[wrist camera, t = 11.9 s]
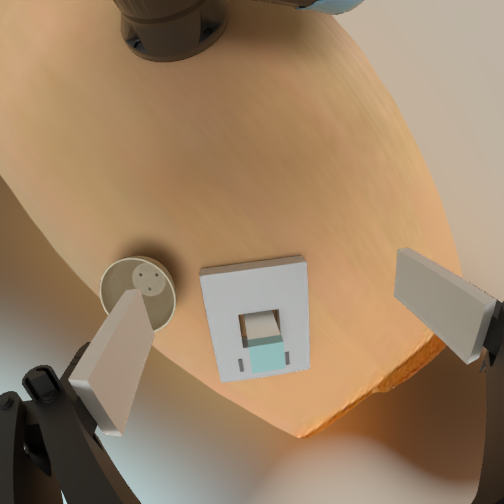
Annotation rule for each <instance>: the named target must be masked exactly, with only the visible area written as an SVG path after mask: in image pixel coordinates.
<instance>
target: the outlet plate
mask: <svg viewBox="0 0 504 504" xmlns="http://www.w3.org/2000/svg"><path fill="white" fill-rule="evenodd" d="M199 277H200V283H201V288H202V293H203V299H204V304H205V309H206V314H207V319H208V324H209V329H210V334H211V338H212V343H213V348H214V352H215V357H216V361H217V365H218V370H219V374H220V378H221V383H222V382H231V381H239V380H247V379H254V378H261V377H268V376H274V375H280V374H286V373H291V372H296V371H302V370H307V369H310V346H309V303H308V278H307V261H306V260H305V259H304V258H303V257H302V256H301V255H300V256H293V257H285V258H278V259H271V260H263V261H256V262H249V263H241V264H234V265H226V266H218V267H211V268H203V269H201V271H200V275H199ZM275 309H276V315H277V326H278V329H279V332H280V334H281V336H282V339H283V341H284V354H285V368H284V369H278V370H272V371H266V372H259V373H252V368H251V361H250V354H249V347H248V341H247V337H242V335H241V329H240V322H239V315H240V314H247V313H254V312H261V311H268V310H275Z"/></svg>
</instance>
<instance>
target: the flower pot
mask: <svg viewBox="0 0 504 504" xmlns="http://www.w3.org/2000/svg"><path fill="white" fill-rule="evenodd" d="M155 274H157V275H155ZM140 275H142V276H140ZM139 288H140V291H141V294H142V297H143V301H144V304H145V307H146V311H147V314H148V317H149V320H150V323H151V326H152V329H153V332H157V331H159V330H161V329H162V328H164V327H165V326H166V325H167V324H168V323H169V322H170V320H171V319H172V317H173V315H174V312H175V308H176V289H175V285H174V282H173V279H172V277H171V275H170V273H169V272H168V270H167V269H166V268H165V267H164V266H163V265H162V264H161V263H160V262H158V261H157V260H155V259H152V258H149V257H145V256H130V257H126V258H123V259H120V260H118V261H116V262H114V263H113V264H111V265H110V266H109V267H108V268H107V269H106V271H105V272H104V274H103V276H102V278H101V281H100V289H99V290H100V299H101V302H102V305H103V308H104V310H105V311H106V313H107V314H108V315H109V314H110V312H111V311H112V309H113V308H114V307H115V305H116V304H117V302H118V301H119V299H120V298H121V296H122V295H123V294H124V292H125V291H126V290H131V289H139ZM150 288H151V289H150Z"/></svg>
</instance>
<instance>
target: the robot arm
mask: <svg viewBox="0 0 504 504" xmlns="http://www.w3.org/2000/svg"><path fill="white" fill-rule="evenodd" d="M113 1H114V2H115V4H116V5H117V7H118V8H119V10H120V11H121V33H122V36H123V39H124V41H125V42H126V44H127V45H128V46H129V48H130V49H131V50H132V51H133V52H134V53H135V54H136V55H138V56H140V57H142V58H144V59H147V60H150V61H156V62H171V61H178V60H182V59H185V58H189V57H191V56H194V55H196V54H198V53H200V52H202V51H203V50H205V49H206V48H208V47H209V46H210V45H212V44H213V43H214V42H215V41H216V40H217V39H218V38H219V36H220V35H221V34H222V32H223V30H224V28H225V25H226V22H227V4H226V1H225V0H113ZM254 1H261V2H268V3H274V4H280V5H285V6H290V7H294V8H295V9H298V10H311V11H316V12H321V13H325V14H330V15H338V14H342V13H344V12H348V11H350V10H352V9H354V8H355V7H357V6H358V5H359V4H361V3H362V2H363V1H364V0H254ZM394 297H395V298H396V299H398V300H399V301H400V302H401V303H402V304H403V305H404V306H405V307H407V308H408V309H409V310H410V311H411V312H412V313H413V314H414V315H415V316H417V317H418V318H419V319H420V320H421V321H422V322H423V323H424V324H425V325H426V326H427V327H429V328H430V329H431V330H432V331H433V332H434V333H435V334H436V335H437V336H438V337H439V338H440V339H441V340H442V341H443V342H444V343H446V344H447V345H448V346H449V347H450V348H451V349H452V350H453V351H454V352H455V353H456V354H457V355H458V356H459V357H460V358H461V359H462V360H463V361H464V362H465V363H466V364H469V363H471V362H472V361H474V360H476V359H478V358H479V355H480V353H481V350H482V347H483V346H484V347H485V348H486V349H487V352H486V355H485V357H484V360H483V362H482V365H481V368H480V371H479V372H481V371H482V369H483V368H484V367H485V366H486V369H485V372H486V386H487V415H486V434H485V447H484V455H483V463H482V469H481V476H480V481H479V487H478V491H477V494H476V497H475V499H474V500H473V502H472V503H471V504H504V301H503V303H501V302H500V301H498V300H497V299H495V298H494V297H492V296H490V295H489V294H487V293H486V292H484V291H482V290H481V289H479V288H477V287H476V286H475V285H473V284H471V283H470V282H468V281H466V280H464V279H463V278H461V277H459V276H458V275H456V274H454V273H453V272H451V271H449V270H448V269H446V268H444V267H442V266H441V265H439V264H437V263H435V262H434V261H432V260H430V259H428V258H427V257H425V256H423V255H421V254H419V253H418V252H416V251H414V250H412V249H410V248H403V249H397V264H396V278H395V290H394ZM154 336H155V335H154V332H153V329H152V326H151V323H150V320H149V317H148V314H147V311H146V307H145V304H144V301H143V297H142V294H141V291H140V288H139V289H131V290H126V291H125V292H124V294H123V295H122V296H121V298H120V299H119V301H118V302H117V304H116V305H115V307H114V308H113V309H112V311H111V312H110V314H109V315H108V317H107V318H106V320H105V321H104V323H103V324H102V326H101V327H100V329H99V331H98V332H97V334H96V335H95V337H94V338H93V340H92V341H91V342H87V343H86V344H85V345H83V346H82V347H81V348H80V349H79V350H78V352H77V353H76V355H75V356H74V358H73V360H72V361H71V362H70V365H69V366H68V367H67V369H66V370H65V372H64V374H63V375H62V377H61V378H60V380H59V379H58V377H57V376H56V374H55V372H54V370H53V369H52V367H51V366H48V365H40V366H37V367H35V368H33V369H31V370H30V371H28V373H27V374H25V376H24V378H23V379H22V385H23V386H24V388H25V389H26V391H27V393H28V394H29V395H30V397H31V398H32V400H30V401H22V400H21V398H20V397H19V395H18V394H17V393H16V392H14V391H8V392H6V393H3V394H2V395H0V504H63V499H62V493H61V490H62V492H63V494H64V497H65V499H66V502H67V504H141V502H140V501H139V500H138V498H137V497H136V496H135V494H134V493H133V492H132V490H131V489H130V487H129V486H128V485H127V483H126V482H125V480H124V479H123V477H122V476H121V474H120V473H119V471H118V470H117V468H116V467H115V465H114V463H113V462H112V460H111V459H110V457H109V455H108V454H107V452H106V450H105V449H104V447H103V445H102V443H101V442H100V440H99V438H98V436H97V435H96V434H95V433H94V432H95V429H96V427H97V425H98V426H99V428H100V429H101V430H102V432H103V433H104V434H105V435H114V436H123V433H124V429H125V426H126V422H127V419H128V416H129V412H130V409H131V406H132V403H133V399H134V396H135V393H136V390H137V387H138V383H139V380H140V377H141V374H142V371H143V368H144V365H145V362H146V359H147V356H148V353H149V351H150V348H151V345H152V342H153V339H154ZM24 447H25V450H24Z"/></svg>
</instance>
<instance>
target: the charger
mask: <svg viewBox="0 0 504 504" xmlns="http://www.w3.org/2000/svg"><path fill="white" fill-rule="evenodd" d="M244 319H245V326H246V333H247V341H248V347H249V354H250V361H251V368H252V373H259V372H266V371H272V370H278V369H284V368H285V354H284V341H283V339H282V336H281V334H280V332H279V329H278V326H277V323H276V320H275V318H274V315H273V312H272V310H268V311H261V312H254V313H247V314H244Z"/></svg>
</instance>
